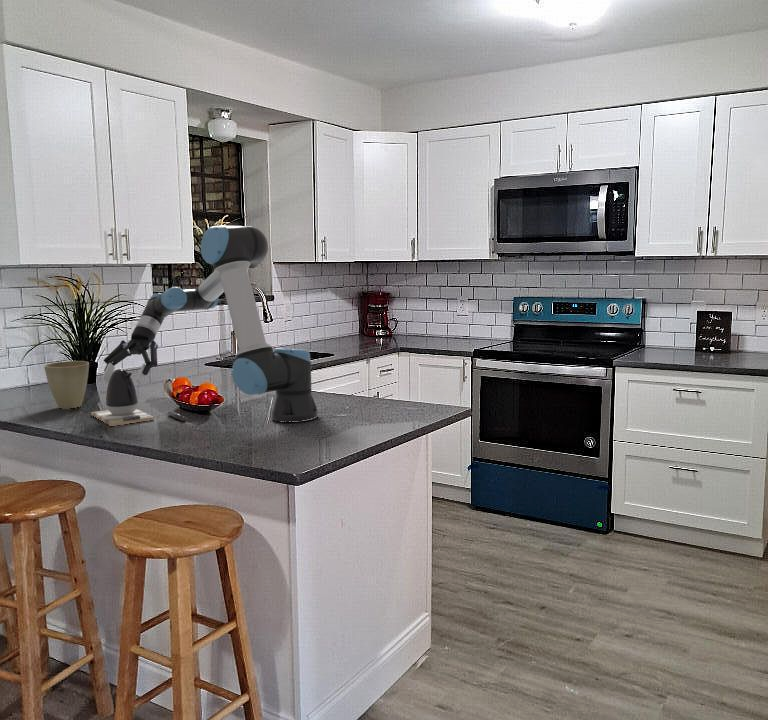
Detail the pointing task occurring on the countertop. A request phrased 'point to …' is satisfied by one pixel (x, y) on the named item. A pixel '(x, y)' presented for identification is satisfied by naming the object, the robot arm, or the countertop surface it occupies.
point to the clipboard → (121, 417)
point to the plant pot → (67, 382)
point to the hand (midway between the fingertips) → (121, 381)
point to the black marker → (177, 416)
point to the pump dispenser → (121, 393)
